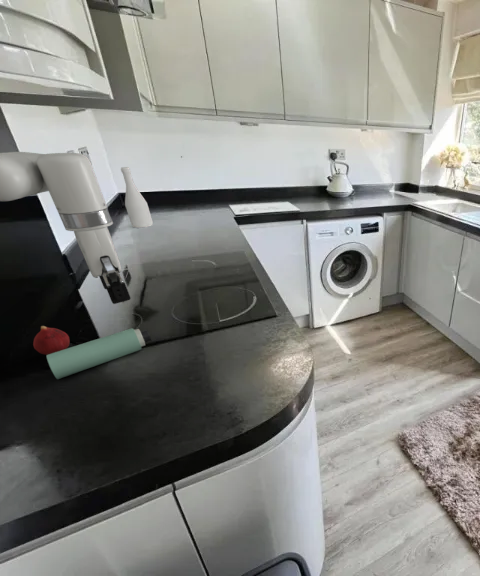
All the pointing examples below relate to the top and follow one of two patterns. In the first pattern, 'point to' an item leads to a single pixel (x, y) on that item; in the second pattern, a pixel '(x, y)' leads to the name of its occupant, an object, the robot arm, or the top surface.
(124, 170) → the wine bottle
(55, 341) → the onion
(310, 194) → the top surface
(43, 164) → the robot arm
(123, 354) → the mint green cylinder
